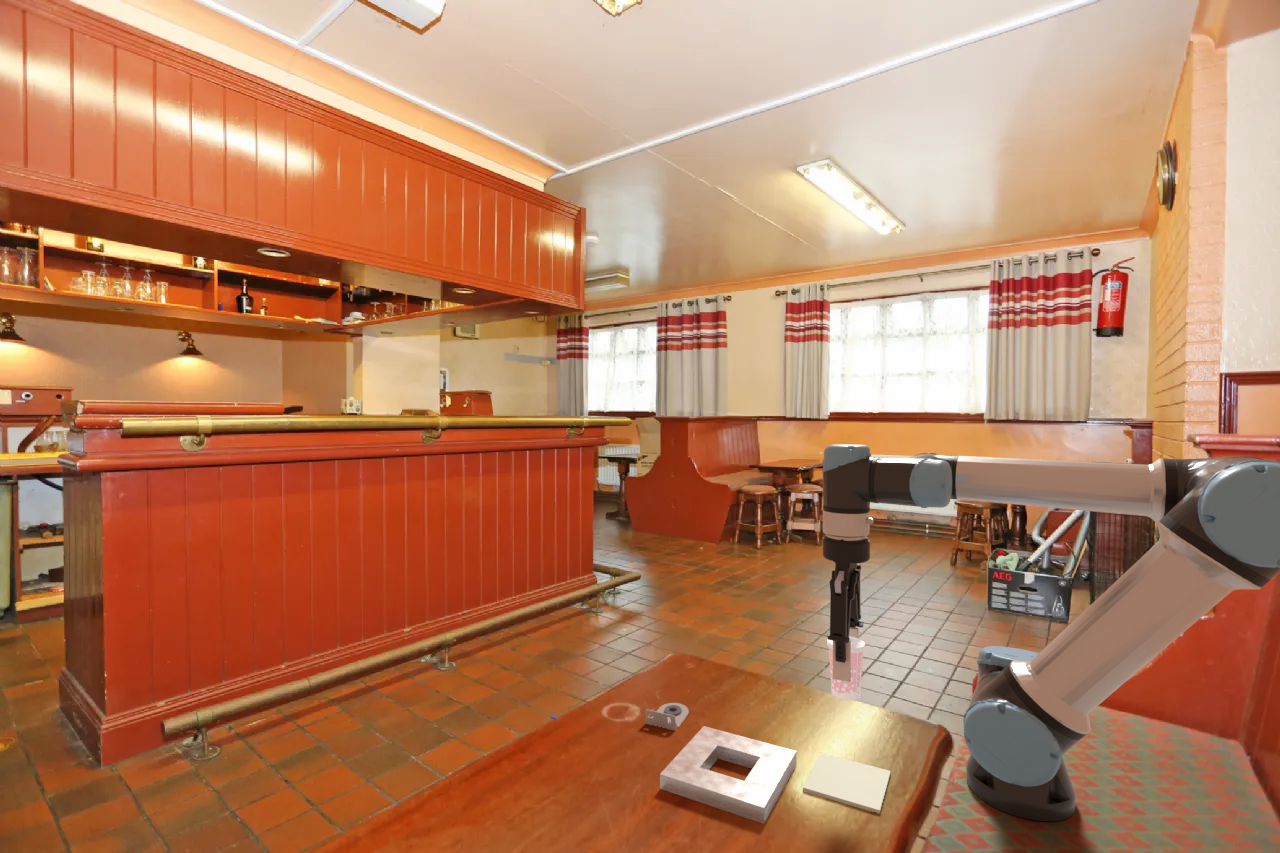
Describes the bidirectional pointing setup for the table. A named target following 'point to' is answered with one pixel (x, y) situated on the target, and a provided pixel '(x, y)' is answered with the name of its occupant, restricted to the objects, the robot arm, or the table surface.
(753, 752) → the white square frame
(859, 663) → the beverage cup
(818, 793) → the beige pad
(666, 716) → the bracket
